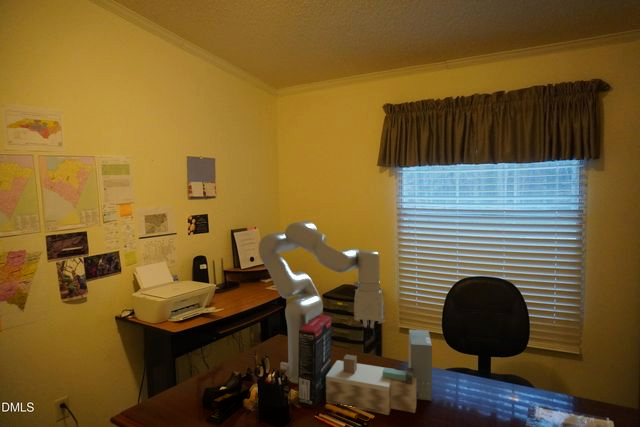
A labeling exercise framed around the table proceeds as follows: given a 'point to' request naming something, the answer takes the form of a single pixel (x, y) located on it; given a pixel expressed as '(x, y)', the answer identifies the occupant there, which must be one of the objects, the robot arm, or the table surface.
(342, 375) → the toolbox lid
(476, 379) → the table surface
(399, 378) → the teal rectangular block
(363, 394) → the toolbox
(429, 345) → the hard drive box
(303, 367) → the graphics card box
